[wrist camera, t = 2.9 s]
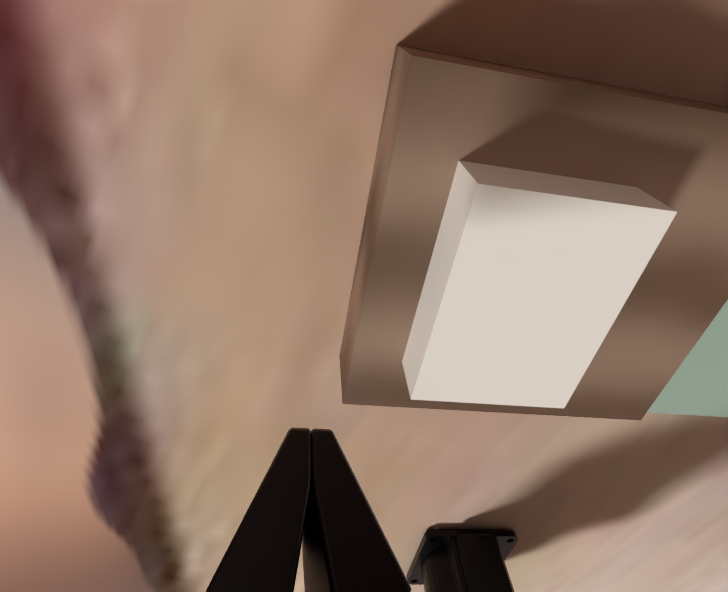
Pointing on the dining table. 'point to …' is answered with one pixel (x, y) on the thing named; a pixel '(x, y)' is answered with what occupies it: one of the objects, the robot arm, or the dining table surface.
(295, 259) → the dining table surface
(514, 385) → the ivory tile
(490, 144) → the walnut deck
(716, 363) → the sage mat
